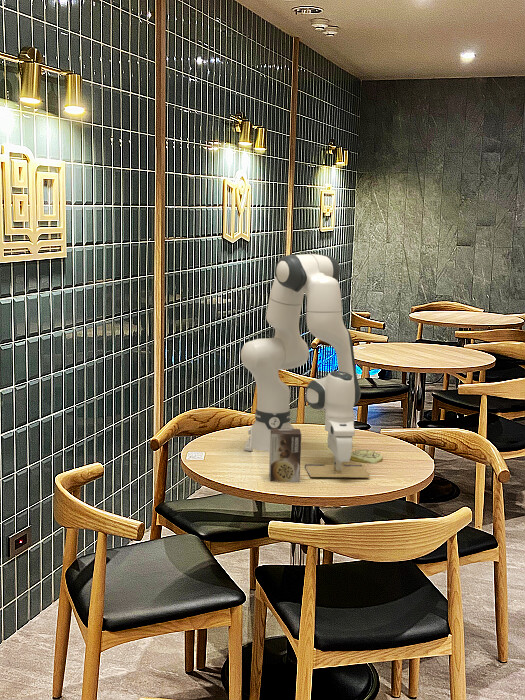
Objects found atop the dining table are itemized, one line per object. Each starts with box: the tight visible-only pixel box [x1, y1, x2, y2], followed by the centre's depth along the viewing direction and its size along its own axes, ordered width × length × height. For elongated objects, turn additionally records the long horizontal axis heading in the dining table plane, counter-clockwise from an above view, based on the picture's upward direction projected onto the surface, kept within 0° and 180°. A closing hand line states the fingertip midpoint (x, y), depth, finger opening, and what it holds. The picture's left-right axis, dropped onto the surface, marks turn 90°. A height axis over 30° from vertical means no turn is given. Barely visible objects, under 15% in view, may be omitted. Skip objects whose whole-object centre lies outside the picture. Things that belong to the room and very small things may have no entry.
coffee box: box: [268, 428, 302, 483], centre depth 248 cm, size 9×6×16 cm
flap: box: [305, 464, 371, 479], centre depth 257 cm, size 13×18×2 cm
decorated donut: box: [350, 449, 384, 464], centre depth 275 cm, size 10×11×4 cm
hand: (337, 468), depth 257 cm, fingers closed on flap
